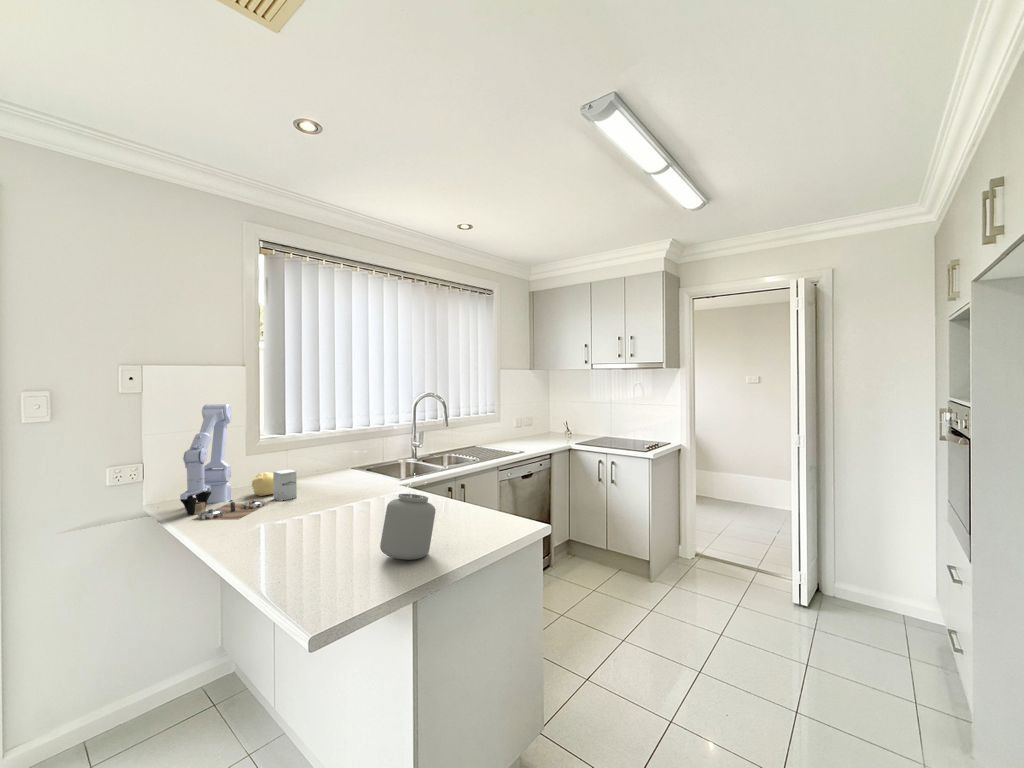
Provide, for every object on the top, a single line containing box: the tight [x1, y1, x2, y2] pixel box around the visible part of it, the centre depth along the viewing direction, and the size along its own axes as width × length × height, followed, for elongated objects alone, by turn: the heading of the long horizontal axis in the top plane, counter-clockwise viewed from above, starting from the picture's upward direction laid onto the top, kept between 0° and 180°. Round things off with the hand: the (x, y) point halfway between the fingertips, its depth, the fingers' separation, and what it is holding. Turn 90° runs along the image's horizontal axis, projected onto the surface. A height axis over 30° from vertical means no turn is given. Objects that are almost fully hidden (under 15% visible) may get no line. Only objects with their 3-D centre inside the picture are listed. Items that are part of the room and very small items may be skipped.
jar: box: [379, 472, 437, 561], centre depth 135 cm, size 19×15×25 cm
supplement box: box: [272, 469, 298, 502], centre depth 203 cm, size 7×7×13 cm
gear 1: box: [197, 508, 224, 521], centre depth 172 cm, size 8×8×2 cm
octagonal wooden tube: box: [194, 501, 206, 515], centre depth 178 cm, size 6×6×5 cm
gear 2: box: [241, 499, 266, 509], centre depth 185 cm, size 8×8×3 cm
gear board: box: [191, 501, 271, 521], centre depth 179 cm, size 22×18×5 cm
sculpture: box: [251, 471, 274, 497], centre depth 211 cm, size 11×12×11 cm
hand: (196, 512), depth 178 cm, fingers closed on octagonal wooden tube, 6 cm apart
